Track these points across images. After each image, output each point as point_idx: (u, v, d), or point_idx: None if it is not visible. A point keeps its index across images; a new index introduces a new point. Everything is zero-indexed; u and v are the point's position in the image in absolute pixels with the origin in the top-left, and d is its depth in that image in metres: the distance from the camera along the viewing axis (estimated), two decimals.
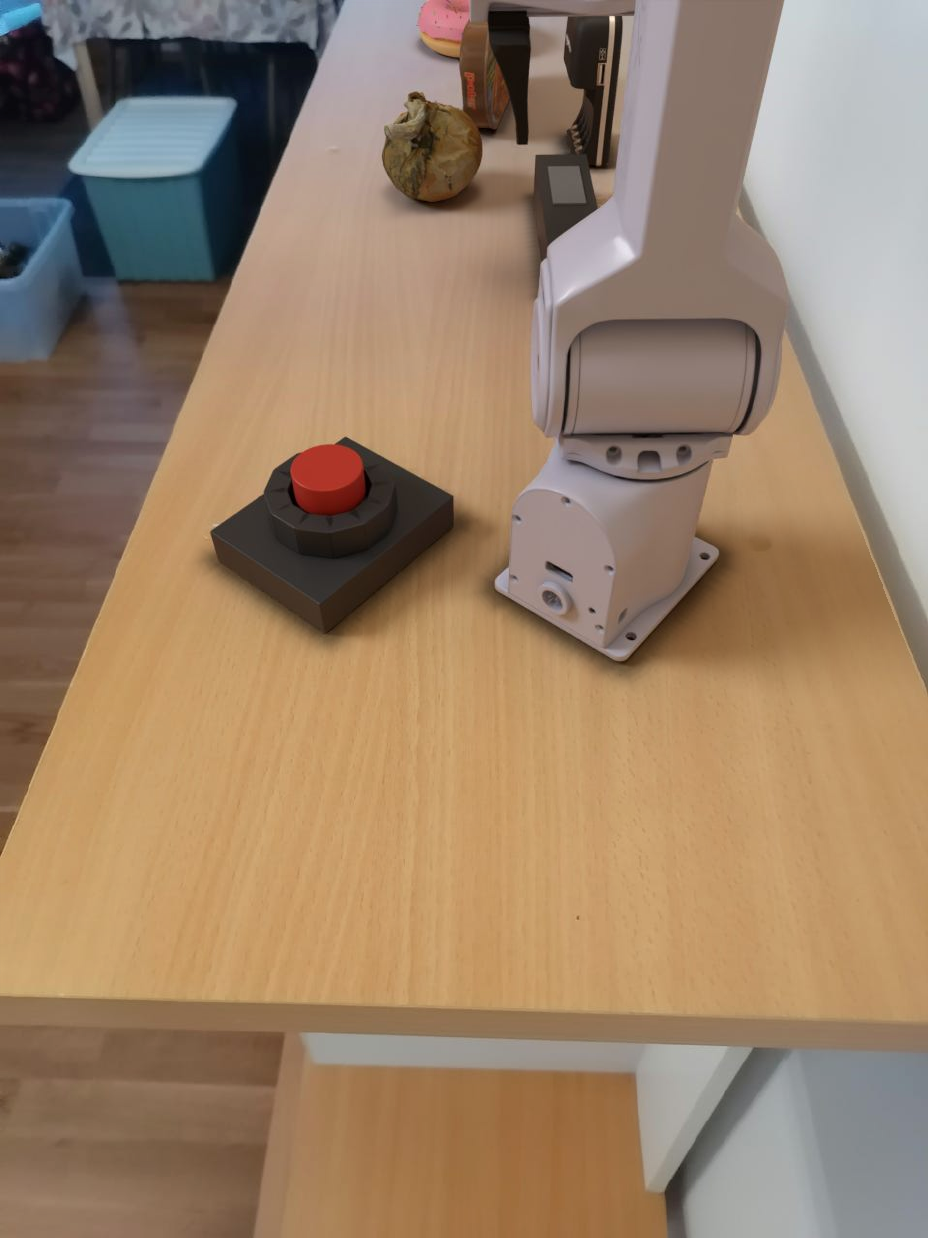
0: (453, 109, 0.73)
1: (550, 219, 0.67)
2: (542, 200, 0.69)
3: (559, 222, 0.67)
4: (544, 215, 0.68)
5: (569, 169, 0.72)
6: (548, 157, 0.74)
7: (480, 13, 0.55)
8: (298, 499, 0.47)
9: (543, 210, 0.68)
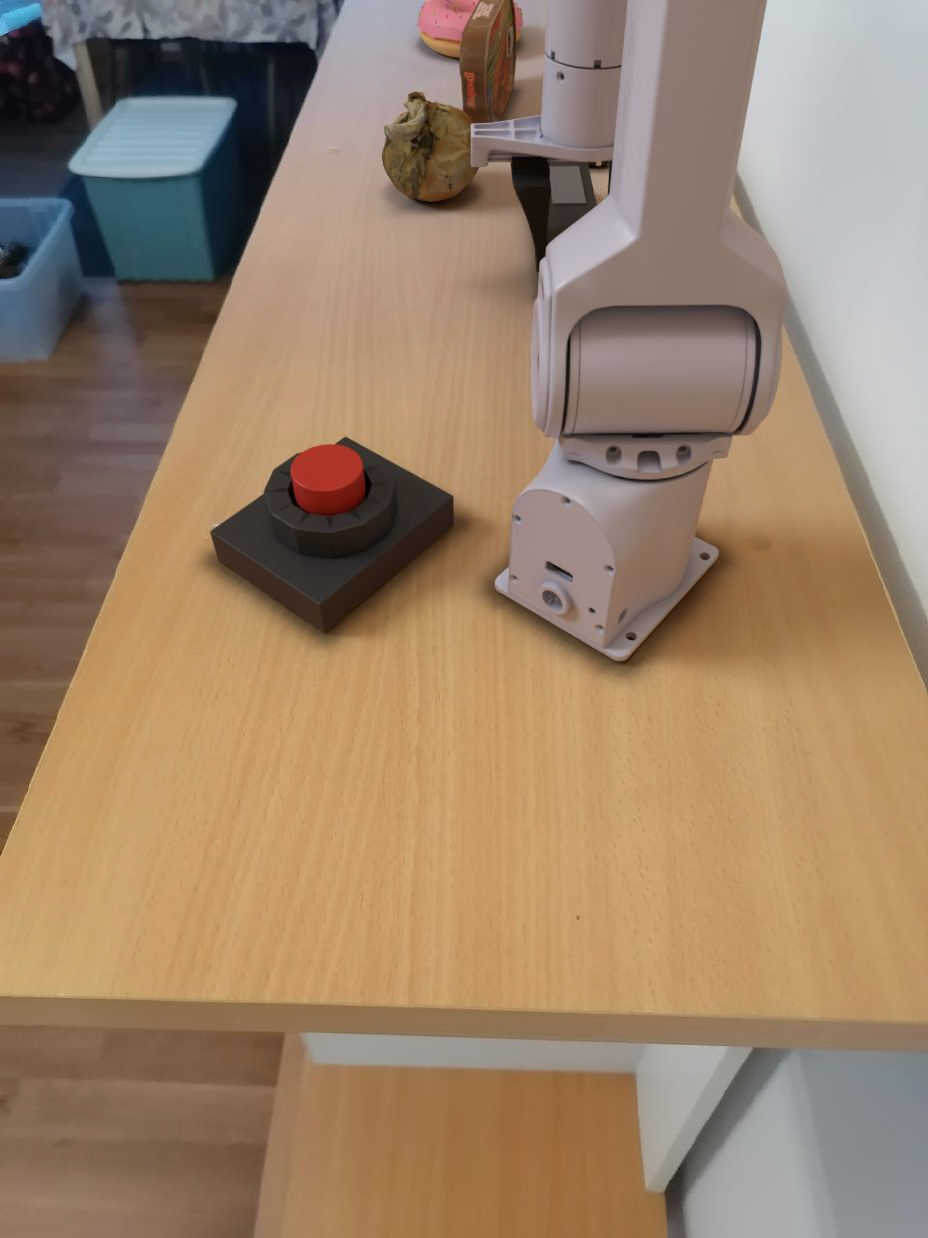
0: (453, 109, 0.73)
1: (550, 219, 0.67)
2: None
3: (559, 222, 0.67)
4: None
5: (569, 169, 0.72)
6: None
7: (480, 159, 0.60)
8: (298, 499, 0.47)
9: None
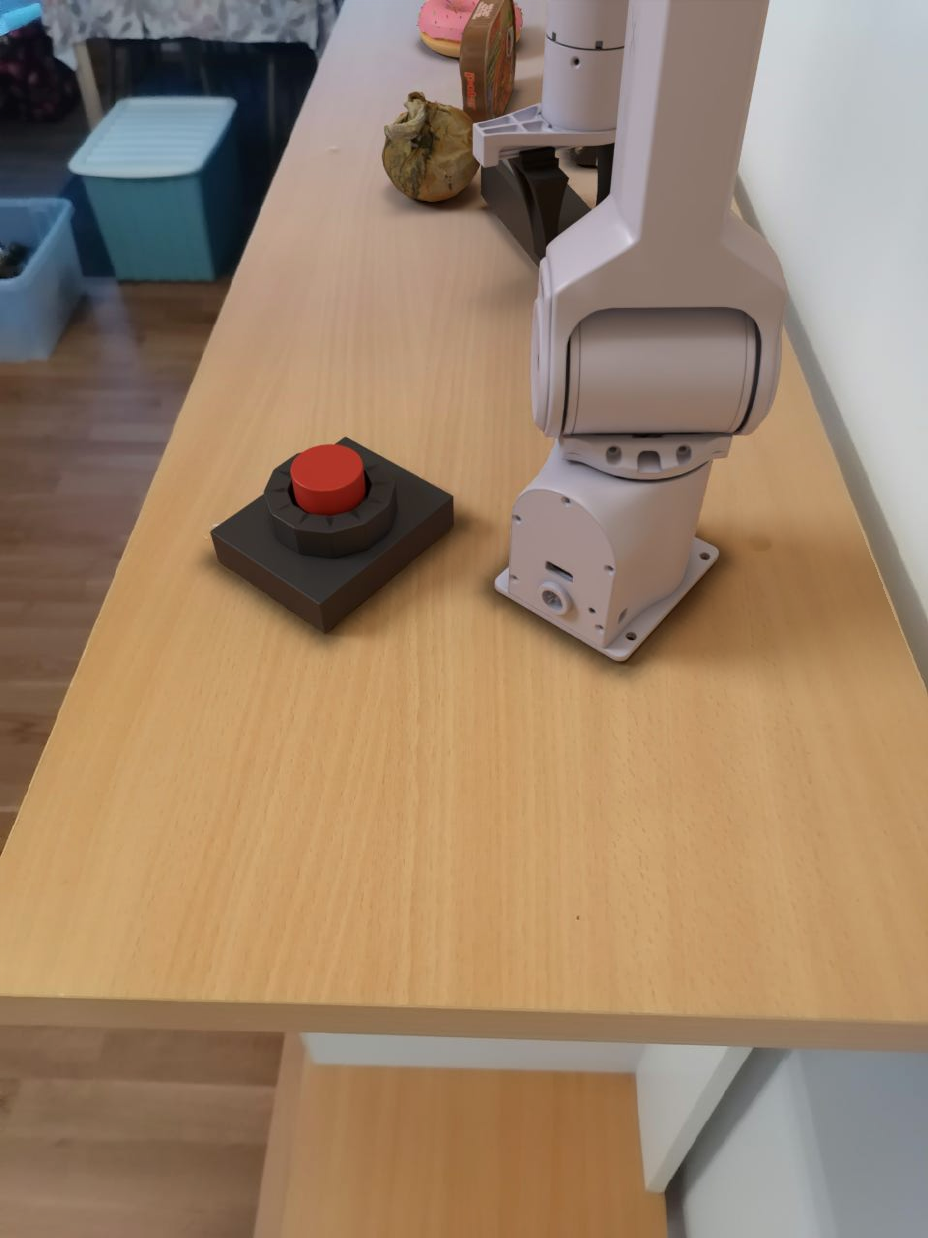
0: (453, 109, 0.73)
1: None
2: (518, 193, 0.68)
3: None
4: None
5: None
6: None
7: (493, 158, 0.58)
8: (298, 499, 0.47)
9: None
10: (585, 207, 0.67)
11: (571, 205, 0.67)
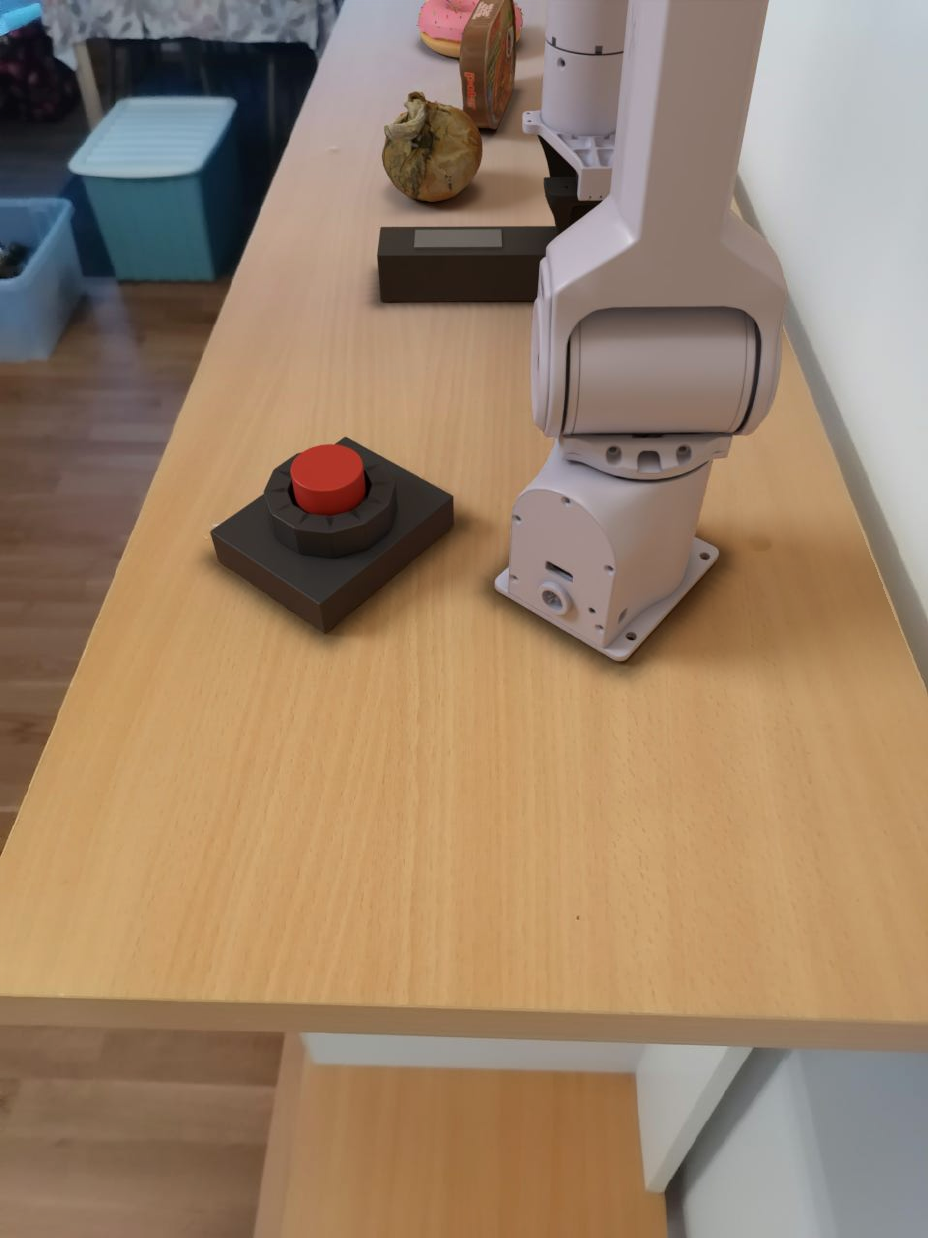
0: (453, 109, 0.73)
1: (534, 250, 0.65)
2: (490, 254, 0.64)
3: (539, 246, 0.65)
4: (524, 254, 0.64)
5: (423, 235, 0.66)
6: (388, 247, 0.65)
7: None
8: (298, 499, 0.47)
9: (512, 254, 0.64)
10: (541, 228, 0.67)
11: (534, 233, 0.66)
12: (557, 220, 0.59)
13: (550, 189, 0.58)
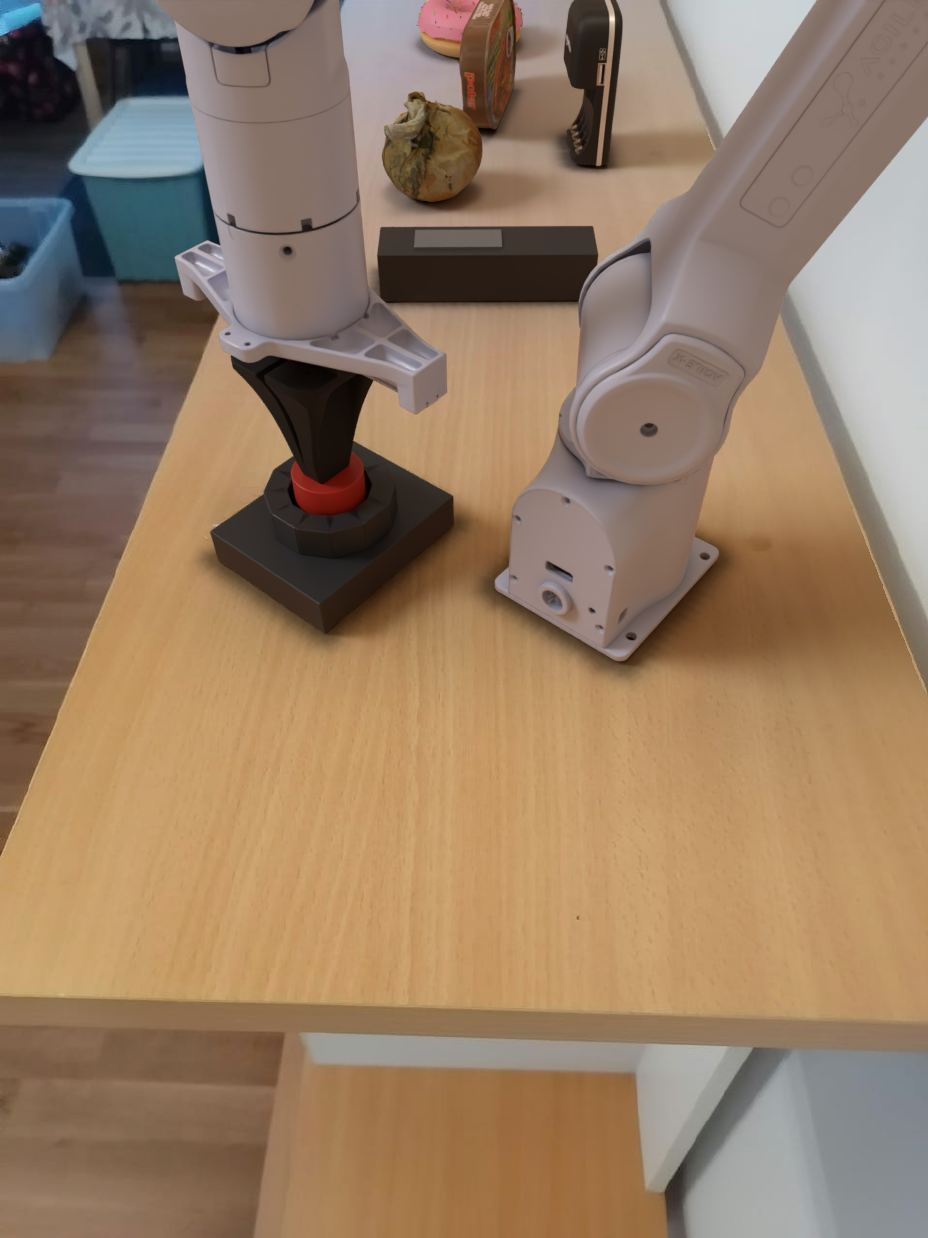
0: (453, 109, 0.73)
1: (534, 250, 0.65)
2: (490, 254, 0.64)
3: (539, 246, 0.65)
4: (524, 254, 0.64)
5: (423, 235, 0.66)
6: (388, 247, 0.65)
7: None
8: (298, 501, 0.47)
9: (512, 254, 0.64)
10: (541, 228, 0.67)
11: (534, 233, 0.66)
12: (313, 418, 0.41)
13: (296, 386, 0.40)
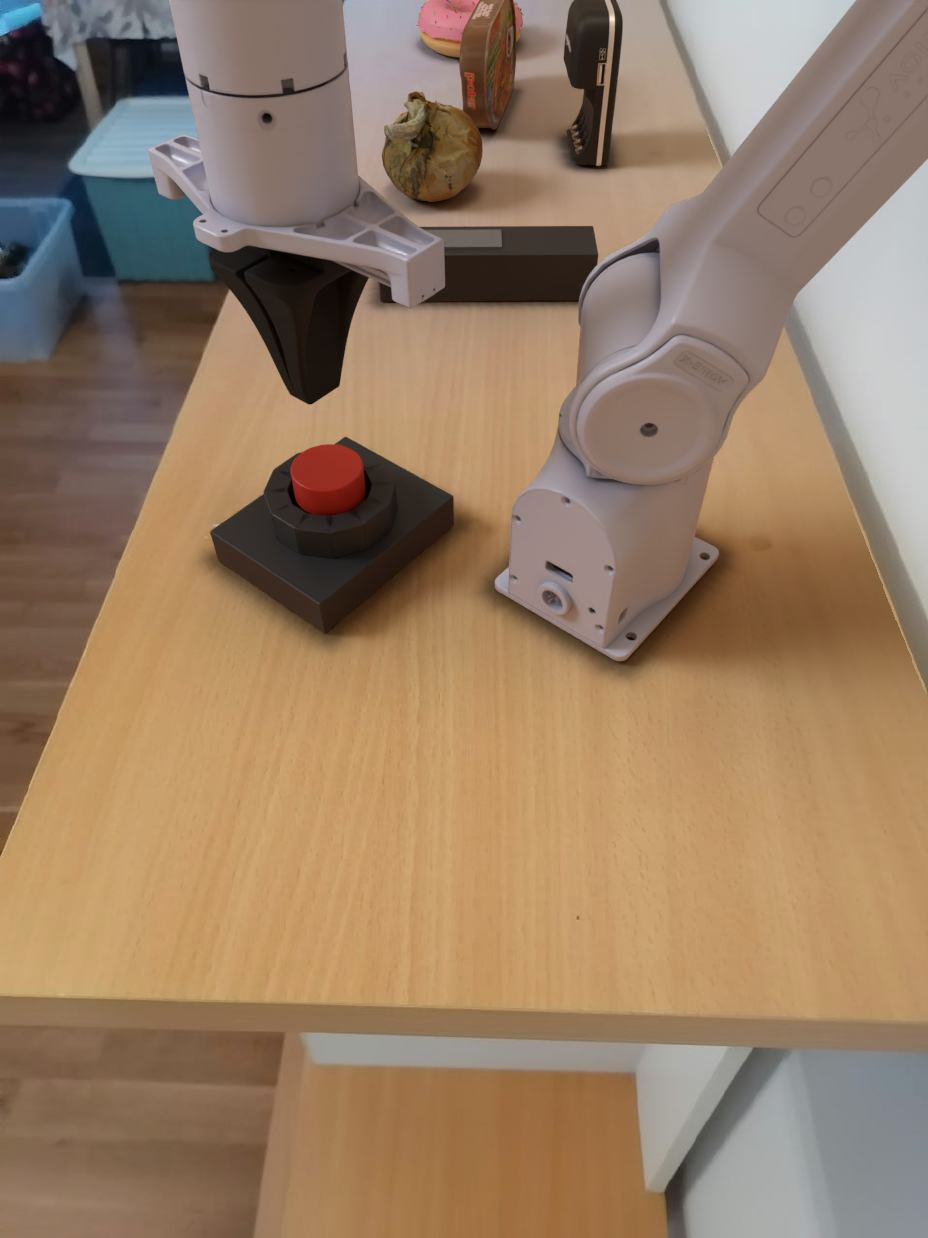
0: (453, 109, 0.73)
1: (534, 250, 0.65)
2: (490, 254, 0.64)
3: (539, 246, 0.65)
4: (524, 254, 0.64)
5: None
6: None
7: None
8: (298, 499, 0.47)
9: (512, 254, 0.64)
10: (541, 228, 0.67)
11: (534, 233, 0.66)
12: (298, 321, 0.38)
13: (279, 282, 0.36)
